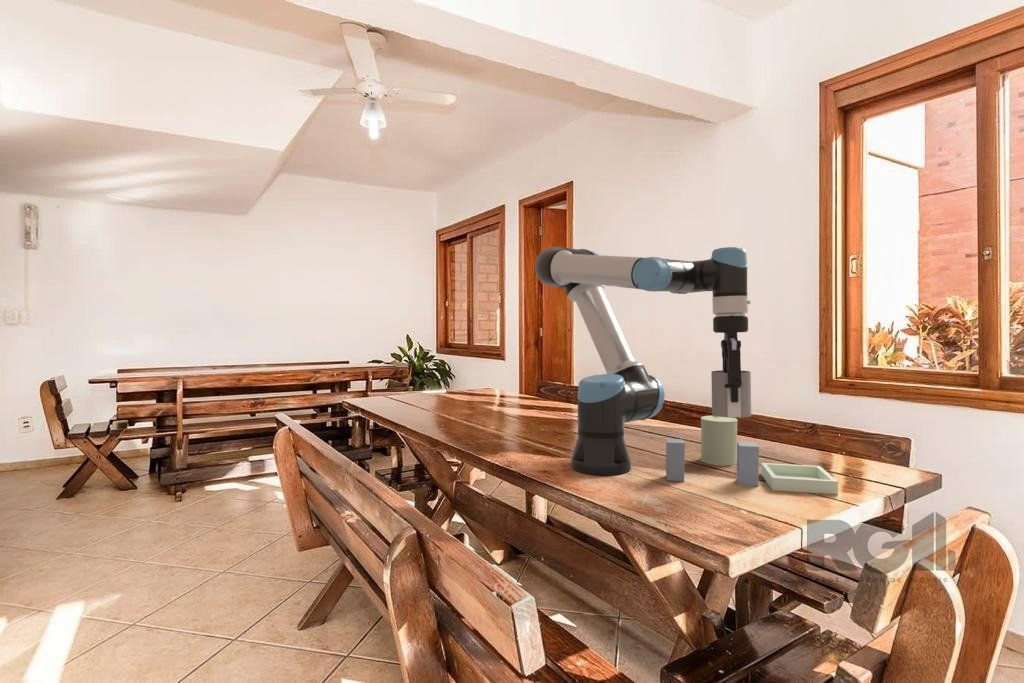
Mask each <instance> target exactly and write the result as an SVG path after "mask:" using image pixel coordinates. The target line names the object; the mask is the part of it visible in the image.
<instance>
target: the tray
mask: <svg viewBox="0 0 1024 683" xmlns="http://www.w3.org/2000/svg"><path fill="white" fill-rule="evenodd" d="M760 475H761V477H762V478H763V479H764V481H766V483H767V485H768V486H769V488H770V489H771V490H772V491H776V492H777V491H778V492H779V491H780V492H781V491H782V492H792V493H796V492H797V493H811V494H825V495H839V481H838V480H837V479H836V478H835V477H834V476H832V474H830V473H829V472H828V471H826V470H825V469H824V467H822V466H821V465H810V464H808V465H807V464H792V463H791V464H790V463H789V464H788V463H773V462H761V463H760Z"/></svg>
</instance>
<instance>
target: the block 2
mask: <svg viewBox="0 0 1024 683" xmlns="http://www.w3.org/2000/svg"><path fill="white" fill-rule="evenodd" d="M759 449H760V447H759V445H758V444H757V443H756V442H747V441H746V442H744V441H743V442H742V441H741V442H740V441H737V464H736V481H737V483H738V486H750V487H751V486H752V487H759V462H760V461H759V457H760V456H759V455H760V454H759V453H760V452H759V451H760V450H759Z"/></svg>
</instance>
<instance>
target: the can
mask: <svg viewBox="0 0 1024 683" xmlns="http://www.w3.org/2000/svg"><path fill="white" fill-rule="evenodd" d="M700 422H701V424H700V426H701V429H700V432H701V434H700V442H701V443H700V462H702V463H703V462H704V464H706V465H711V466H716V465H717V467H731V466H735V465H736V466H737V442H738V419H737V418H730V417H719V416H714V415H704V416H701V417H700Z"/></svg>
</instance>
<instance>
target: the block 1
mask: <svg viewBox="0 0 1024 683" xmlns="http://www.w3.org/2000/svg"><path fill="white" fill-rule="evenodd" d="M665 441H666V442H665V453H666V454H665V477H666V481H671V482H685V465H686V464H685V460H686V459H685V453H686V452H685V447H686V443H685V440H684V439H678V438H677V439H676V438H666V440H665Z"/></svg>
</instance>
